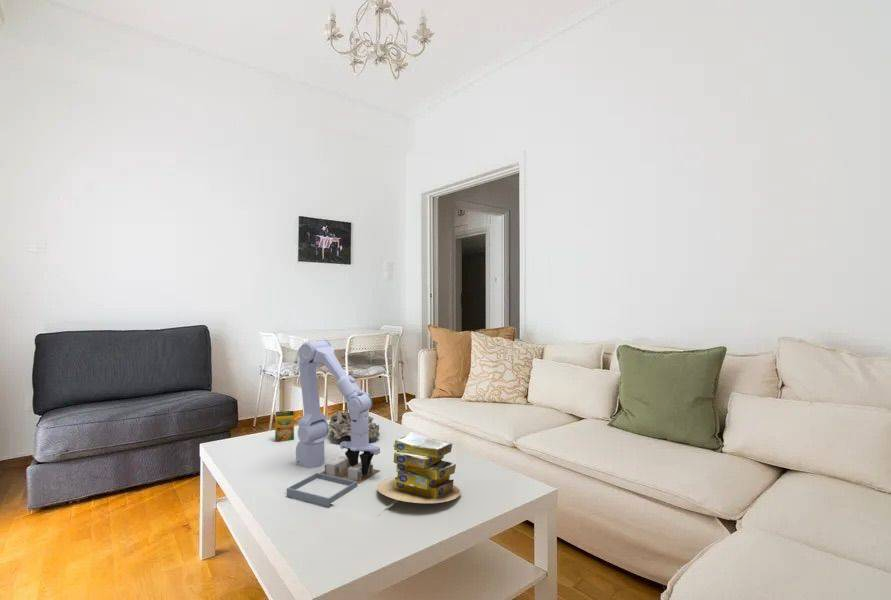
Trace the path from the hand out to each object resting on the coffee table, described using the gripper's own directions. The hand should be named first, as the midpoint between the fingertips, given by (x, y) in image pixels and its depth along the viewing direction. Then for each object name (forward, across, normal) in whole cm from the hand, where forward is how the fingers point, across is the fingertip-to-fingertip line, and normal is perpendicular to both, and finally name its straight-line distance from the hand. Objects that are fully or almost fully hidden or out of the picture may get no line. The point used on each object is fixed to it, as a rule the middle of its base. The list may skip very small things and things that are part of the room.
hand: (360, 472), depth 147 cm
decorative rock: (+2, -29, +35) cm, 46 cm away
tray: (+2, -4, -14) cm, 15 cm away
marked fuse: (+1, 0, 0) cm, 1 cm away
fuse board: (+2, -4, 0) cm, 5 cm away
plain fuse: (+1, -9, 0) cm, 9 cm away
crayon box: (+2, -52, +18) cm, 55 cm away
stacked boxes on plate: (+2, +23, -2) cm, 23 cm away
